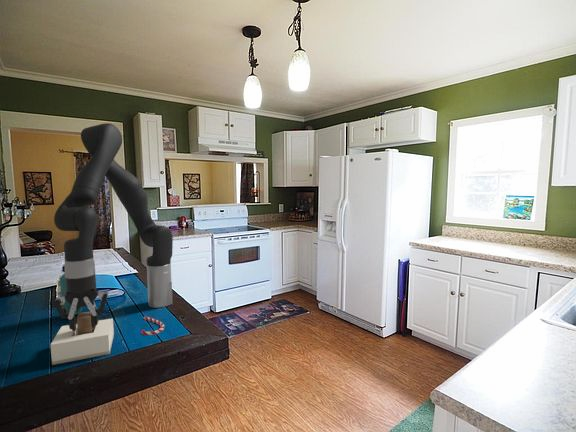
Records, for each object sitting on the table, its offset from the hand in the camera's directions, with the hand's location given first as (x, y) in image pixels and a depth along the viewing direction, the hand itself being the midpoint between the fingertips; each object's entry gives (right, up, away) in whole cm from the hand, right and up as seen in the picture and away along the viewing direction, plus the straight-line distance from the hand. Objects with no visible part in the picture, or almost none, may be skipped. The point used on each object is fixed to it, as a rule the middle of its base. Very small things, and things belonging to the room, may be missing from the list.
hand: (84, 327), depth 94 cm
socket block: (0, -7, +1) cm, 7 cm away
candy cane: (+13, -6, +16) cm, 21 cm away
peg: (0, -6, +1) cm, 6 cm away
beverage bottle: (-20, -4, +24) cm, 31 cm away
